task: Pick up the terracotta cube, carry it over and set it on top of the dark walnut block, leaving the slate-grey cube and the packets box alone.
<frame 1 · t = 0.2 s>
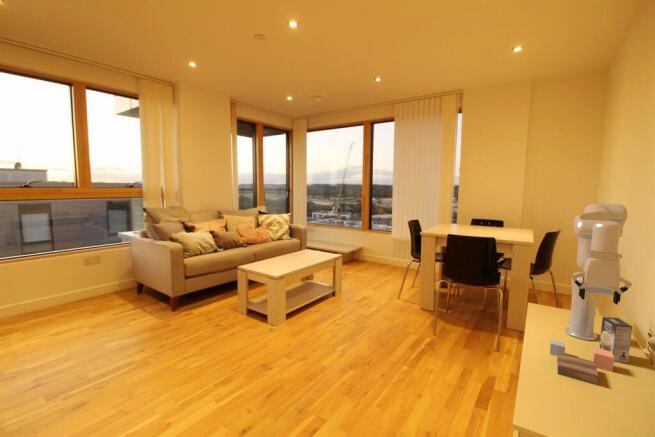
hand: (598, 300, 119), 30 cm above the table, tool pointing down, fingers open, 9 cm apart
walnut block: (575, 373, 126), on the table
terracotta cube: (601, 366, 131), on the table
grey cube: (556, 353, 140), on the table
coffee box: (612, 357, 138), on the table
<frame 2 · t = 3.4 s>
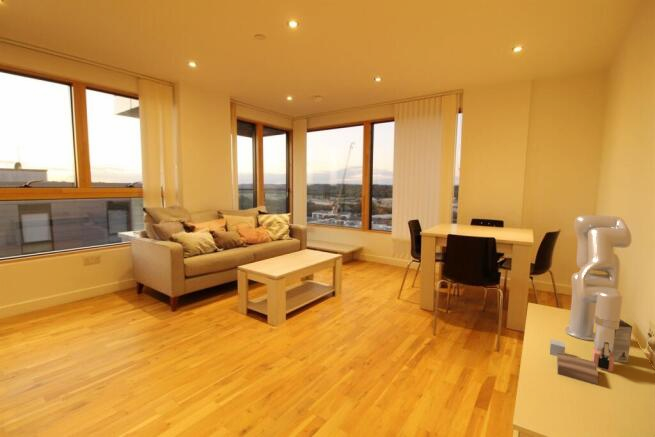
hand: (602, 363, 130), 1 cm above the table, tool pointing down, fingers closed on terracotta cube, 6 cm apart
terracotta cube: (601, 366, 131), on the table, touching gripper
everything else where it was.
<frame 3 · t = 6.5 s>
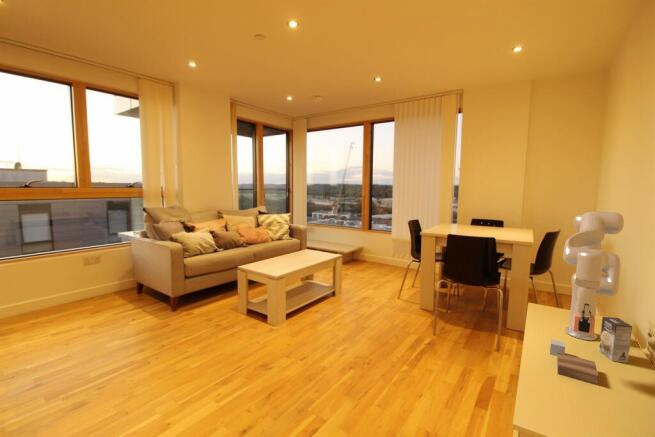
hand: (582, 328, 124), 18 cm above the table, tool pointing down, fingers closed on terracotta cube, 6 cm apart
terracotta cube: (582, 330, 124), point 17 cm above the table, touching gripper
everything else where it was.
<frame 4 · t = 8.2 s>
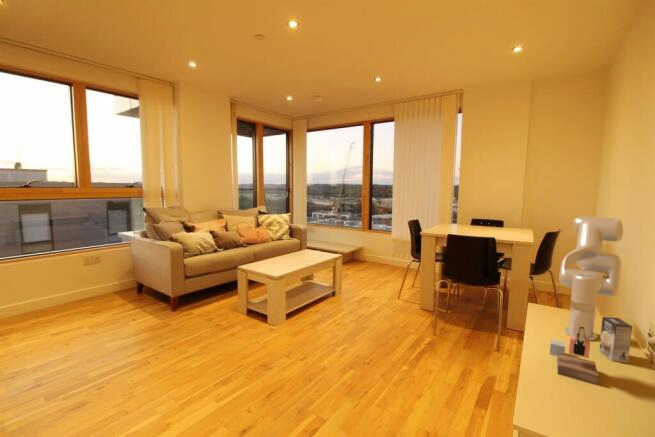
hand: (578, 350, 125), 9 cm above the table, tool pointing down, fingers closed on terracotta cube, 6 cm apart
terracotta cube: (577, 352, 125), point 8 cm above the table, touching gripper
everything else where it was.
when the fingers open (6 cm above the table, at t = 9.6 s): terracotta cube drops 2 cm, resting on walnut block.
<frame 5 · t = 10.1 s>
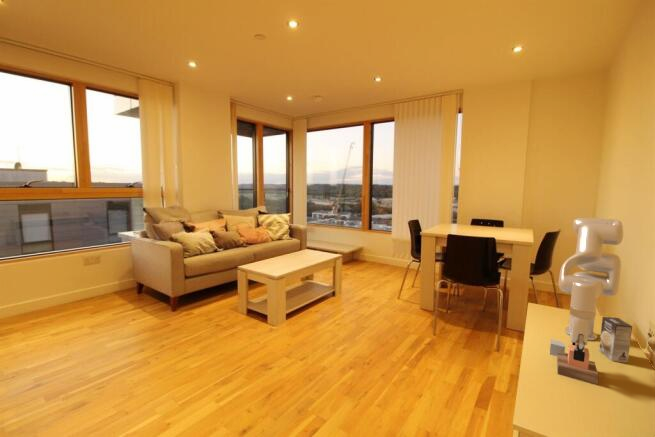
hand: (577, 355, 125), 7 cm above the table, tool pointing down, fingers open, 9 cm apart
walnut block: (575, 373, 126), on the table, touching terracotta cube
terracotta cube: (577, 363, 125), point 3 cm above the table, touching walnut block
everything else where it was.
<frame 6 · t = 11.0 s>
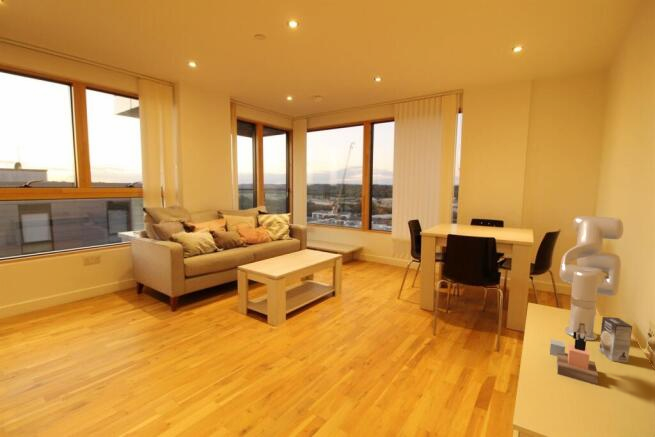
hand: (578, 344, 125), 11 cm above the table, tool pointing down, fingers open, 9 cm apart
nothing on the table moved.
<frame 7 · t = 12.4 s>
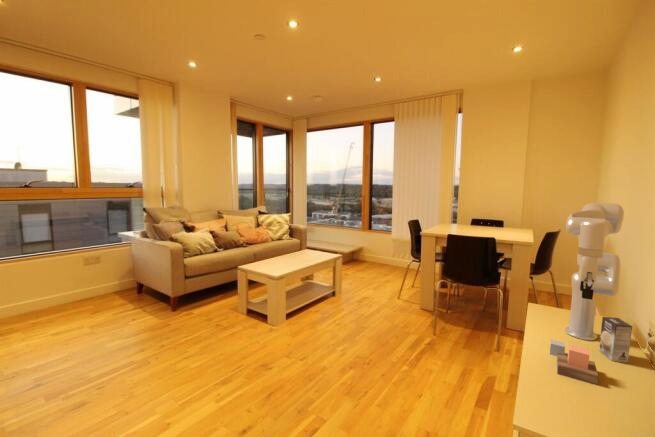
hand: (585, 294, 126), 31 cm above the table, tool pointing down, fingers open, 9 cm apart
walnut block: (575, 373, 126), on the table
terracotta cube: (577, 363, 125), point 4 cm above the table
everything else where it was.
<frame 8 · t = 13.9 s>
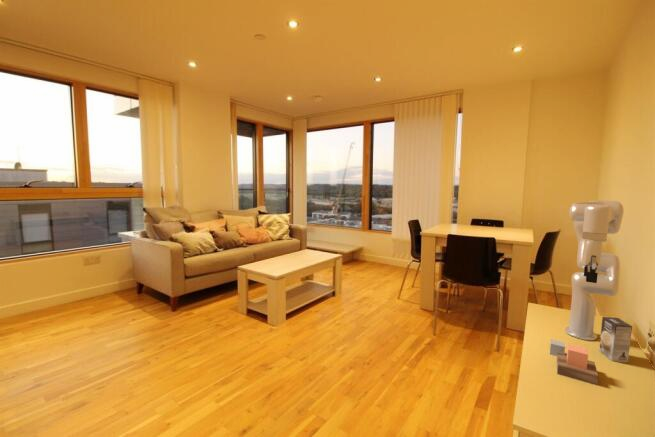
hand: (589, 279, 127), 36 cm above the table, tool pointing down, fingers open, 9 cm apart
walnut block: (575, 373, 126), on the table, touching terracotta cube
terracotta cube: (576, 363, 126), point 4 cm above the table, touching walnut block
everything else where it was.
at the end: terracotta cube inside the target area on the walnut block (0.1 cm from its centre), point 4.0 cm above the walnut block's base; terracotta cube tilted 0°; the gripper is holding nothing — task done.
